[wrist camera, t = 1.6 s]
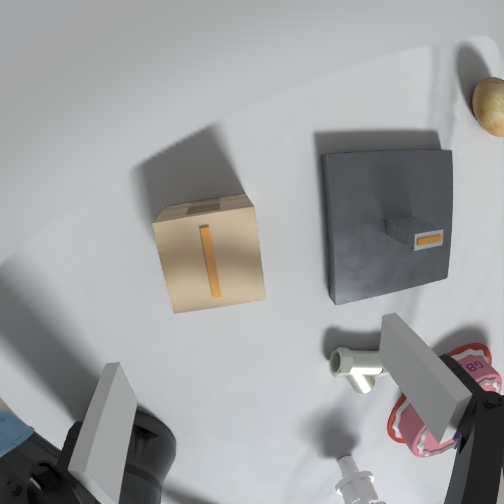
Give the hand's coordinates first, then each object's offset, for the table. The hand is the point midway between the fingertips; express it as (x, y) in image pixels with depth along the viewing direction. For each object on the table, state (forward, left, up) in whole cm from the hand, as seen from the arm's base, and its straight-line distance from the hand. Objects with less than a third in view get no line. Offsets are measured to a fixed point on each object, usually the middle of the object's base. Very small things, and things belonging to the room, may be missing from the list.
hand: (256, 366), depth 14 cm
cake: (+34, -36, -20) cm, 53 cm away
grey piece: (+18, 0, -19) cm, 26 cm away
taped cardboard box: (-2, +1, -19) cm, 19 cm away
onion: (+35, +14, -19) cm, 42 cm away
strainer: (+14, -45, -19) cm, 51 cm away
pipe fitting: (+13, -19, -20) cm, 31 cm away
